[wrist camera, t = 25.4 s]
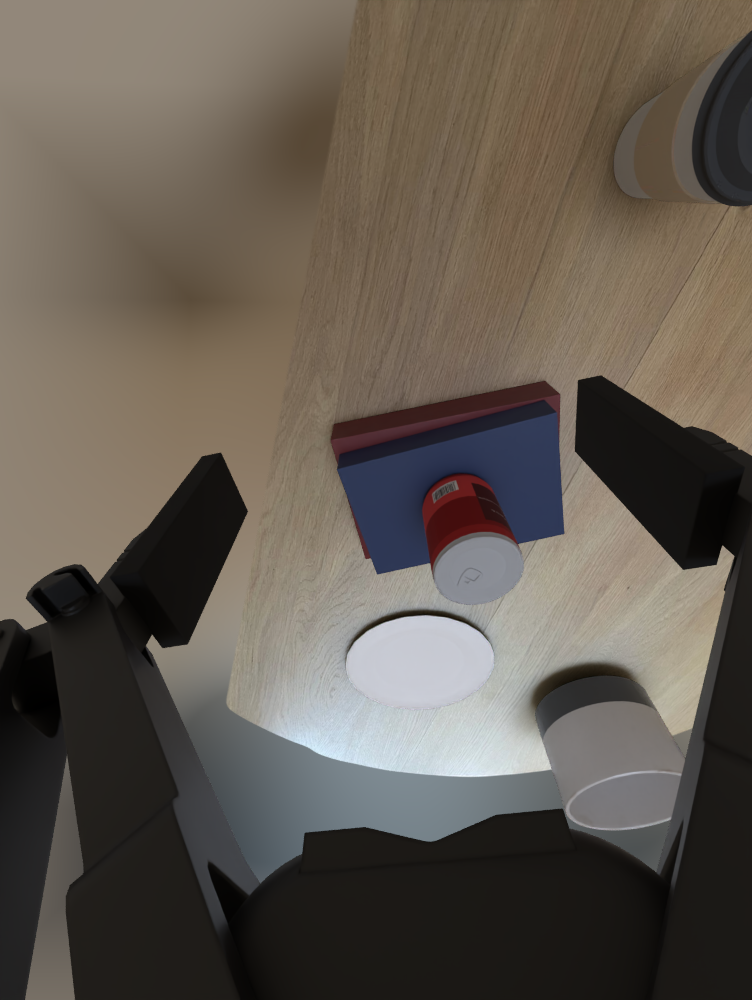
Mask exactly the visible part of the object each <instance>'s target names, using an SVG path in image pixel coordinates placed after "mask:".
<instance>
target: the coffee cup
mask: <svg viewBox="0 0 752 1000" xmlns="http://www.w3.org/2000/svg"><path fill="white" fill-rule="evenodd" d="M614 174H615V178H616V181H617V183H618V185H619V187H620V188H621V190H622V191H623V192H624V193H626V194H627V195H629V196H631V197H634V198H645V199H655V200H659V201H666V202H686V203H706V204H720V203H722V204H725V205H729V206H748V205H752V31H751V32H749V33H748V34H746V35H744V36H742V37H740V38H738V39H737V40H735V41H734V42H732V43H731V44H729V45H728V46H726V47H725V48H724V49H722V50H721V51H719V52H718V53H716V54H715V55H713V56H712V57H710V58H709V59H707V60H706V61H704V62H703V63H702V64H700V65H699V66H697V67H696V68H694V69H693V70H691V71H690V72H688V73H687V74H685V75H684V76H683V77H681V78H680V79H678V80H677V81H675V82H674V83H673V84H672V85H670V86H669V87H668V88H667V89H666V90H665V91H663V92H662V93H660V94H659V95H657V96H655V97H654V98H652V99H651V100H649V101H648V102H646V103H645V104H644V105H643V106H641V107H640V108H639V109H638V110H637V111H636V112H635V113H634V114H633V116H632V117H631V118H630V120H629V121H628V122H627V124H626V126H625V127H624V129H623V131H622V133H621V135H620V137H619V140H618V143H617V146H616V150H615V154H614Z"/></svg>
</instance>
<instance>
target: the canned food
mask: <svg viewBox="0 0 752 1000" xmlns="http://www.w3.org/2000/svg"><path fill="white" fill-rule="evenodd" d="M422 513H423V521H424V527H425V533H426V539H427V545H428V552H429V558H430V564H431V570H432V574H433V579H434V582H435V585H436V587H437V589H438V590H439V592H440V593H441V594H442V595H443V596H444V597H445V598H447V599H449V600H451V601H453V602H456V603H459V604H466V605H476V604H483V603H487V602H491V601H493V600H496V599H498V598H500V597H502V596H503V595H505V594H507V593H508V592H509V591H510V590H511V589H513V587H514V586H515V585H516V584H517V583H518V581H519V579H520V578H521V576H522V573H523V569H524V561H523V556H522V553H521V550H520V548H519V546H518V543H517V541H516V539H515V537H514V534H513V532H512V530H511V528H510V526H509V524H508V522H507V519H506V517H505V515H504V513H503V511H502V509H501V507H500V504H499V502H498V500H497V498H496V496H495V494H494V492H493V490H492V488H491V487H490V486H489V485H488V483H486V482H485V481H483V480H482V479H481V478H479V477H477V476H474V475H471V474H454V475H451V476H448V477H445V478H443V479H441V480H440V481H438V482H437V483H436V484H434V485H433V487H432V488H431V489H430V490H429V492H428V493H427V495H426V498H425V500H424V503H423V508H422Z"/></svg>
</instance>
